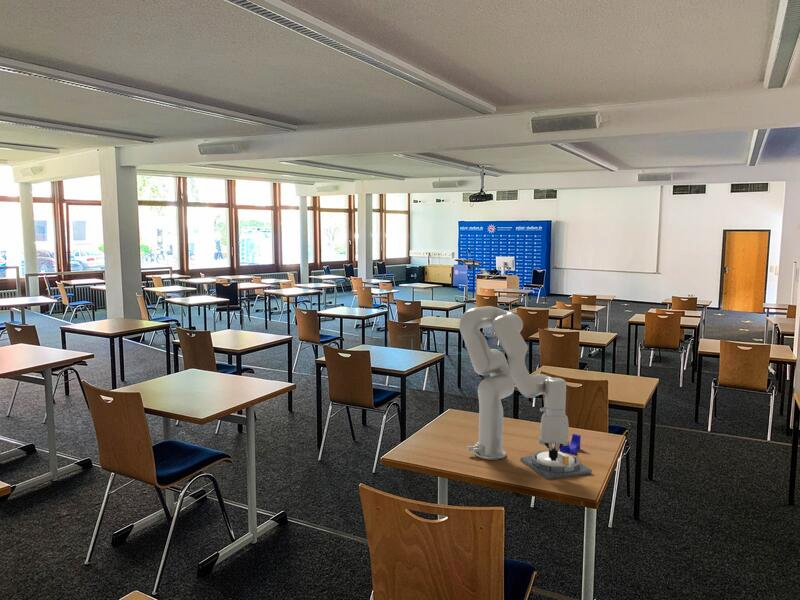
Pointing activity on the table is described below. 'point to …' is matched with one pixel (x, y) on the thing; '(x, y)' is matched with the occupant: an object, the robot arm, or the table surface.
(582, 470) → the panel
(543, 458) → the dial
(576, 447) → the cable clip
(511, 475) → the table surface
